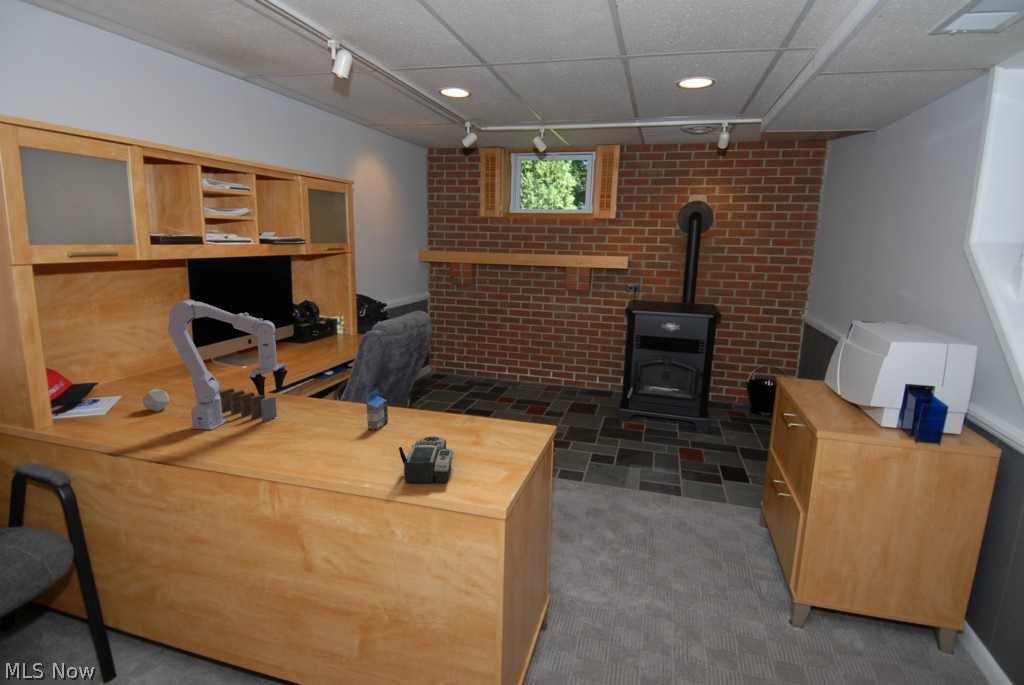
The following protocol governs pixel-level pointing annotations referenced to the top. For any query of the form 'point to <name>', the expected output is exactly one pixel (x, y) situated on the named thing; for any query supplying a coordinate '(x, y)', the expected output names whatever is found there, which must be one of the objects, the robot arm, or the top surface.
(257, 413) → the domino
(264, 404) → the domino
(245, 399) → the domino
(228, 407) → the domino
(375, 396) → the label tape box
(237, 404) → the domino
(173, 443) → the top surface
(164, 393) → the die
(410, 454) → the communication device
